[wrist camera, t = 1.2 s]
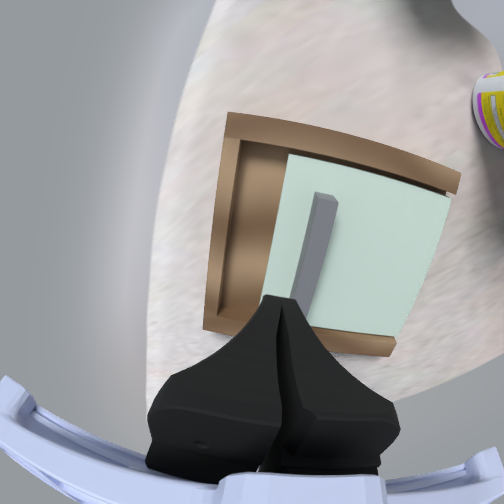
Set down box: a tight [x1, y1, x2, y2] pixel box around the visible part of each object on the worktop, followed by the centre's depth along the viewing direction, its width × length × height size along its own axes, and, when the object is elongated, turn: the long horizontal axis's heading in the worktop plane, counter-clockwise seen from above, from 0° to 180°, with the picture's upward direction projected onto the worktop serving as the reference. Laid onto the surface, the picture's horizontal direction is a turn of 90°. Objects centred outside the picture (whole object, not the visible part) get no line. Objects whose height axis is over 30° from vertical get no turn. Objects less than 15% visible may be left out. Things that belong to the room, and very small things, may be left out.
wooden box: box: [203, 112, 461, 357], centre depth 20 cm, size 16×16×3 cm
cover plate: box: [259, 153, 452, 337], centre depth 18 cm, size 12×12×3 cm
